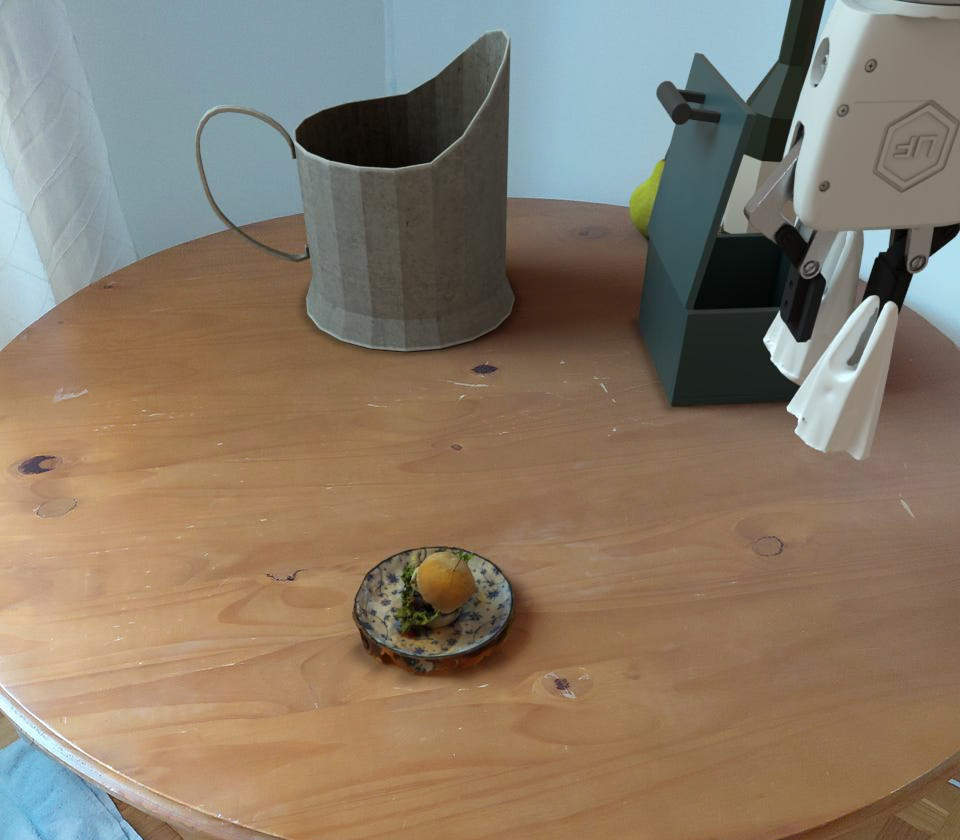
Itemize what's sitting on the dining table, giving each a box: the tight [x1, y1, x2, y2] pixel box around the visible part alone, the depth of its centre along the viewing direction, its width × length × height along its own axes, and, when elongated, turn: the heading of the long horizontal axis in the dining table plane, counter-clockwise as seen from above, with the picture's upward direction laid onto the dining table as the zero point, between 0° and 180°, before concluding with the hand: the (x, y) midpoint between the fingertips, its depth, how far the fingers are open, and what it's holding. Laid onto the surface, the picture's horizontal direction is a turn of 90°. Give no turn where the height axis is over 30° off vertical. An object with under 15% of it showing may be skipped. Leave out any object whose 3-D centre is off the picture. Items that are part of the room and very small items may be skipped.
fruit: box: [628, 147, 669, 239], centre depth 107 cm, size 7×7×12 cm
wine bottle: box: [719, 0, 827, 234], centre depth 96 cm, size 8×8×30 cm
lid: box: [647, 52, 757, 309], centre depth 78 cm, size 16×17×5 cm
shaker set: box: [763, 231, 899, 461], centre depth 55 cm, size 12×4×11 cm, turn 3°
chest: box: [637, 233, 801, 407], centre depth 88 cm, size 15×17×9 cm
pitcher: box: [194, 28, 515, 352], centre depth 90 cm, size 23×32×25 cm
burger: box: [351, 545, 516, 674], centre depth 63 cm, size 12×12×8 cm
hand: (834, 326), depth 55 cm, fingers closed on shaker set, 4 cm apart
